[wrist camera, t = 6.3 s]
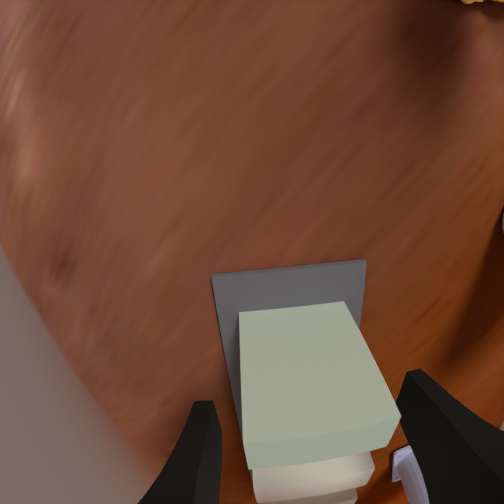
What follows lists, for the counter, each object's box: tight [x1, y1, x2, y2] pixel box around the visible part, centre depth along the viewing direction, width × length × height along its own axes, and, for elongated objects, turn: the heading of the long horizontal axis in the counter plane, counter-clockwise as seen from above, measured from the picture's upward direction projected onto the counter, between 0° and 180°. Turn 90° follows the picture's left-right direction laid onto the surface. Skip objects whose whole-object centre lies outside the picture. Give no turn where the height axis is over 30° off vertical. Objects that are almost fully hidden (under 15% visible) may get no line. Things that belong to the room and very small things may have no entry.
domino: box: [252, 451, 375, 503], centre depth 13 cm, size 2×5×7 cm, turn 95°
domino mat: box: [211, 259, 367, 484], centre depth 18 cm, size 22×7×1 cm, turn 5°
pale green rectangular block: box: [239, 301, 401, 469], centre depth 12 cm, size 2×5×7 cm, turn 94°
